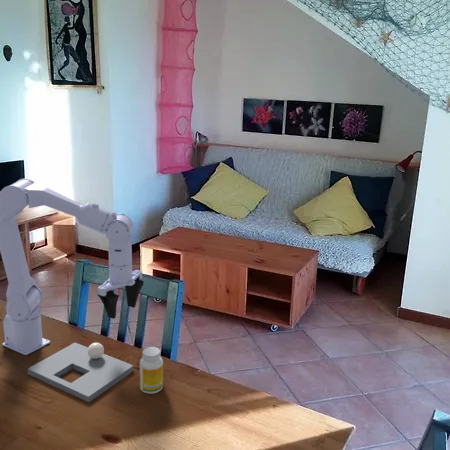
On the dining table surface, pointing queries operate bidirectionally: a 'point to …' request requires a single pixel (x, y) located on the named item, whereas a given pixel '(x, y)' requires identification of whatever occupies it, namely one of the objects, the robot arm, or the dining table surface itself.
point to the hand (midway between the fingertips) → (121, 311)
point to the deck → (79, 360)
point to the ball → (95, 350)
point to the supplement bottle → (151, 370)
